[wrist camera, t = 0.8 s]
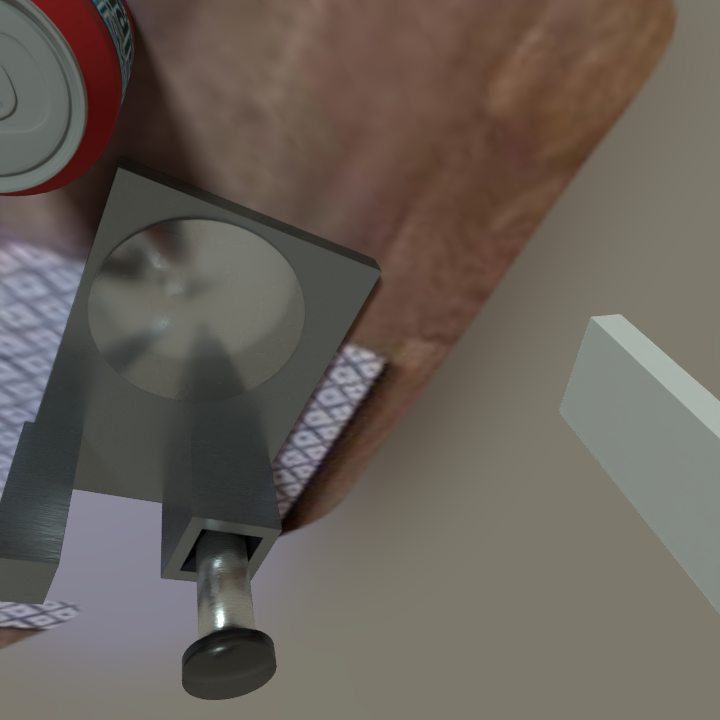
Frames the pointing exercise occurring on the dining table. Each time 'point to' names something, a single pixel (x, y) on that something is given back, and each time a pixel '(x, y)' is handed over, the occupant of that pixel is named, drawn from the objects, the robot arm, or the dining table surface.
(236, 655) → the plunger
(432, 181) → the dining table surface
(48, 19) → the beverage can
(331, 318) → the press
